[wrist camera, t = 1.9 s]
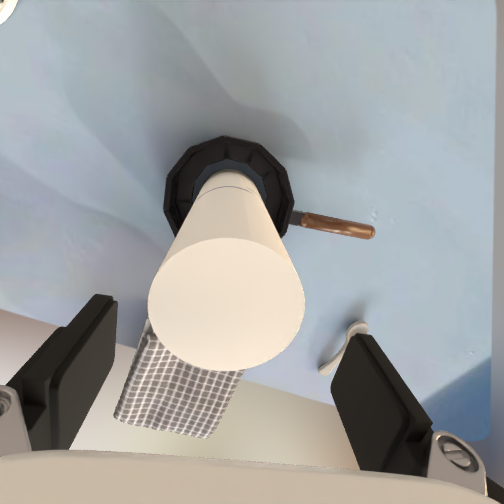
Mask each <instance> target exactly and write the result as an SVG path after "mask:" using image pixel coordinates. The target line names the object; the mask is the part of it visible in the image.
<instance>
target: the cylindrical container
mask: <svg viewBox="0 0 504 504" xmlns="http://www.w3.org/2000/svg"><path fill="white" fill-rule="evenodd" d="M147 306H148V314H149V320H150V323H151V325H152V328H153V331H154V333H155V334H156V336H157V337H158V339H159V340H160V342H161V343H162V344H163V345H164V346H165V347H166V348H167V349H168V350H169V351H170V352H171V353H172V354H174V355H175V356H176V357H178V358H179V359H181V360H182V361H184V362H187V363H189V364H191V365H193V366H196V367H200V368H203V369H207V370H214V371H237V370H243V369H248V368H251V367H254V366H257V365H260V364H263V363H264V362H266V361H268V360H270V359H272V358H273V357H275V356H276V355H278V354H279V353H280V352H281V351H283V350H284V349H285V348H286V347H287V346H288V345H289V343H290V342H291V341H292V340H293V339H294V337H295V335H296V334H297V332H298V330H299V328H300V326H301V323H302V320H303V317H304V309H305V298H304V290H303V288H302V285H301V282H300V279H299V277H298V275H297V273H296V270H295V268H294V266H293V264H292V262H291V260H290V258H289V256H288V254H287V252H286V249H285V247H284V245H283V243H282V241H281V239H280V237H279V235H278V233H277V230H276V228H275V226H274V224H273V222H272V220H271V218H270V216H269V214H268V211H267V209H266V207H265V205H264V203H263V201H262V199H261V197H260V195H259V192H258V190H257V188H256V186H255V184H254V183H253V181H252V180H251V179H250V177H249V176H248V175H246V174H245V173H243V172H241V171H239V170H235V169H223V170H220V171H217V172H215V173H214V174H212V175H211V176H210V177H209V178H208V179H207V180H206V182H205V183H204V185H203V187H202V189H201V191H200V192H199V194H198V196H197V198H196V200H195V202H194V204H193V206H192V208H191V210H190V211H189V213H188V215H187V217H186V219H185V221H184V223H183V225H182V227H181V228H180V230H179V232H178V234H177V236H176V238H175V240H174V242H173V244H172V245H171V247H170V249H169V251H168V253H167V255H166V257H165V259H164V261H163V263H162V264H161V266H160V268H159V270H158V272H157V274H156V276H155V278H154V280H153V282H152V285H151V288H150V291H149V296H148V305H147Z"/></svg>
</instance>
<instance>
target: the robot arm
mask: <svg viewBox="0 0 504 504" xmlns="http://www.w3.org/2000/svg"><path fill="white" fill-rule="evenodd" d="M17 1H18V0H0V24H2V23H3V22H4V21H6V19H7V18H8V17H9V16H10V14H11V13H12V12H13V10H14V8H15V6H16V4H17ZM117 307H118V302H117V301H114V300H113V297H112V296H107V295H101V294H95V295H94V296H93V297H92V298H91V299H90V300H89V302H88V303H87V304H86V305H85V306H84V307H83V308H82V310H81V311H80V312H79V313H78V314H77V315H76V316H75V318H74V319H73V320H72V321H71V322H70V323H69V325H68V326H67V327H59V328H58V329H56V330H55V331H54V333H53V334H52V335H51V336H50V337H49V338H48V339H47V340H46V341H45V342H44V343H43V345H42V346H41V347H40V348H39V349H38V350H37V351H36V352H35V353H34V355H33V356H32V357H31V358H30V359H29V360H28V361H27V362H26V363H25V364H24V366H22V368H21V369H20V370H19V371H18V372H17V373H16V374H15V375H14V377H13V378H12V379H11V380H10V381H9V382H8V383H7V384H6V385H5V386H4V385H0V504H504V488H502V487H501V486H499V485H498V484H497V483H495V482H494V481H492V480H491V479H489V478H488V477H487V476H486V473H485V468H484V464H483V462H482V461H481V459H480V457H479V456H478V454H477V453H476V452H475V451H474V450H473V449H472V448H471V447H470V446H469V445H468V444H467V443H466V442H464V441H463V440H462V439H460V438H459V437H457V436H455V435H453V434H451V433H449V432H445V431H436V432H433V430H432V429H431V425H432V424H433V422H432V421H431V419H430V418H429V417H428V415H427V414H426V412H425V411H424V409H423V408H422V407H421V405H420V404H419V402H418V401H417V399H416V398H415V396H414V395H413V394H412V392H411V391H410V389H409V388H408V386H407V385H406V384H405V382H404V381H403V379H402V378H401V376H400V375H399V374H398V372H397V371H396V369H395V368H394V366H393V365H392V364H391V362H390V361H389V359H388V358H387V356H386V355H385V353H384V352H383V351H382V349H381V348H380V346H379V345H378V343H377V342H376V341H375V339H374V338H373V336H372V335H368V334H361V333H356V334H355V335H354V336H351V338H350V340H349V342H348V344H347V347H346V349H345V352H344V354H343V356H342V359H341V361H340V364H339V366H338V368H337V371H336V373H335V376H334V378H333V380H332V383H331V394H332V397H333V399H334V402H335V405H336V407H337V410H338V412H339V415H340V417H341V420H342V423H343V426H344V428H345V431H346V433H347V436H348V439H349V441H350V444H351V446H352V449H353V452H354V454H355V457H356V460H357V462H358V465H359V467H360V470H349V469H338V468H327V467H314V466H303V465H290V464H278V463H265V462H252V461H239V460H228V459H227V460H226V459H214V458H201V457H187V456H174V455H160V454H146V453H131V452H111V451H94V450H69V448H70V446H71V444H72V443H73V441H74V439H75V437H76V435H77V433H78V431H79V429H80V427H81V425H82V423H83V421H84V420H85V418H86V416H87V414H88V412H89V410H90V408H91V406H92V404H93V402H94V400H95V398H96V397H97V395H98V393H99V391H100V389H101V387H102V385H103V383H104V381H105V379H106V377H107V375H108V374H109V372H110V370H111V368H112V365H113V362H114V357H115V341H116V324H117Z"/></svg>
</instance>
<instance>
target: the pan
mask: <svg viewBox="0 0 504 504" xmlns="http://www.w3.org/2000/svg"><path fill="white" fill-rule="evenodd" d="M224 159H230V160H235V161H239V162H244V163H247V164H248V165H249V166H250V167H251V168H253V169H254V170H255V171H256V172H257V173H258V174H259V175H260V176H261V177H262V180H263V183H264V187H265V190H266V193H267V199H266V203H265V207H266V209H267V211H268V214H269V216H270V218H271V220H272V222H273V224H274V226H275V228H276V230H277V233H278V235H279V237H280V239H281V238H282V237H283V236H284V235H285V233H286V232H287V228H288V225H289V224H291V225H296V226H302V227H305V228H310V229H315V230H321V231H326V232H331V233H336V234H341V235H346V236H351V237H356V238H361V239H371V238H373V237H374V235H375V229H374V227H373V226H371V225H367V224H362V223H357V222H352V221H347V220H342V219H338V218H333V217H328V216H323V215H318V214H313V213H308V212H302V211H297V210H293V207H294V198H293V194H292V190H291V186H290V182H289V179H288V175H287V171H286V170H285V168H284V167H283V166H282V165H281V164H280V163H279V162H278V161H277V160H276V159H275V158H274V157H273V156H272V155H271V154H270V153H269V152H268V151H267V150H266V149H265V148H264V147H263V146H262V145H261V144H259V143H256V142H252V141H248V140H243V139H239V138H235V137H231V136H221V137H218V138H215V139H212V140H209V141H207V142H204V143H201V144H198V145H195V146H192V147H190V148H188V150H187V151H186V152H185V153H184V155H183V156H182V157H181V158H180V160H179V161H178V162H177V163H176V165H175V166H174V167H173V169H172V170H171V171H170V172H169V174H168V175H167V179H166V188H165V197H164V206H163V210H164V214H165V216H166V218H167V220H168V222H169V225H170V227H171V229H172V231H173V234H174V236H175V238H176V236H177V234H178V232H179V230H180V228H181V227H182V225H183V223H184V221H185V219H186V217H187V215H188V213H189V211H190V210H191V208H192V206H193V203H192V194H193V187H194V181H195V179H196V178H197V177H198V176H199V175H200V173H201V172H202V171H203V170H204V168H205V167H206V166H207V165H210V164H212V163H215V162H218V161H221V160H224Z"/></svg>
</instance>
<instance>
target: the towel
mask: <svg viewBox="0 0 504 504" xmlns="http://www.w3.org/2000/svg"><path fill="white" fill-rule="evenodd" d="M244 370H245V369H243V370H237V371H214V370H207V369H203V368H200V367H196V366H193V365H191V364H189V363H187V362H184V361H182V360H181V359H179V358H178V357H176V356H175V355H174V354H172V353H171V352H170V351H169V350H168V349H167V348H166V347H165V346H164V345H163V344H162V343H161V342H160V340H159V339H158V337H157V336H156V334H155V333H154V331H153V328H152V325H151V323H150V320H149V314H148V317H147V318H146V321H145V324H144V328H143V331H142V334H141V338H140V341H139V344H138V347H137V350H136V354H135V356H134V359H133V361H132V365H131V369H130V371H129V375H128V377H127V379H126V382H125V385H124V389H123V391H122V394H121V396H120V400H119V401H118V404H117V407H116V409H115V412H114V418H116V419H118V420H120V421H121V422H127V423H128V424H134V425H136V426H144V427H147V428H148V427H149V428H152V429H155V430H157V429H158V430H162V431H164V430H167V431H170V432H176V433H179V434H180V433H181V434H184V435H190V436H194V437H195V436H196V437H198V438H206V439H207V438H209V437H210V436H211V434H212V433H213V432H214V431H215V429H216V428H217V426H218V424H219V422H220V419H221V418H222V416H223V413H224V412H225V410H226V407H227V405H228V403H229V400H230V398H231V396H232V394H233V392H234V389H235V388H236V386H237V383H238V382H239V380H240V378H241V376H242V375H243V373H244Z"/></svg>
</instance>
